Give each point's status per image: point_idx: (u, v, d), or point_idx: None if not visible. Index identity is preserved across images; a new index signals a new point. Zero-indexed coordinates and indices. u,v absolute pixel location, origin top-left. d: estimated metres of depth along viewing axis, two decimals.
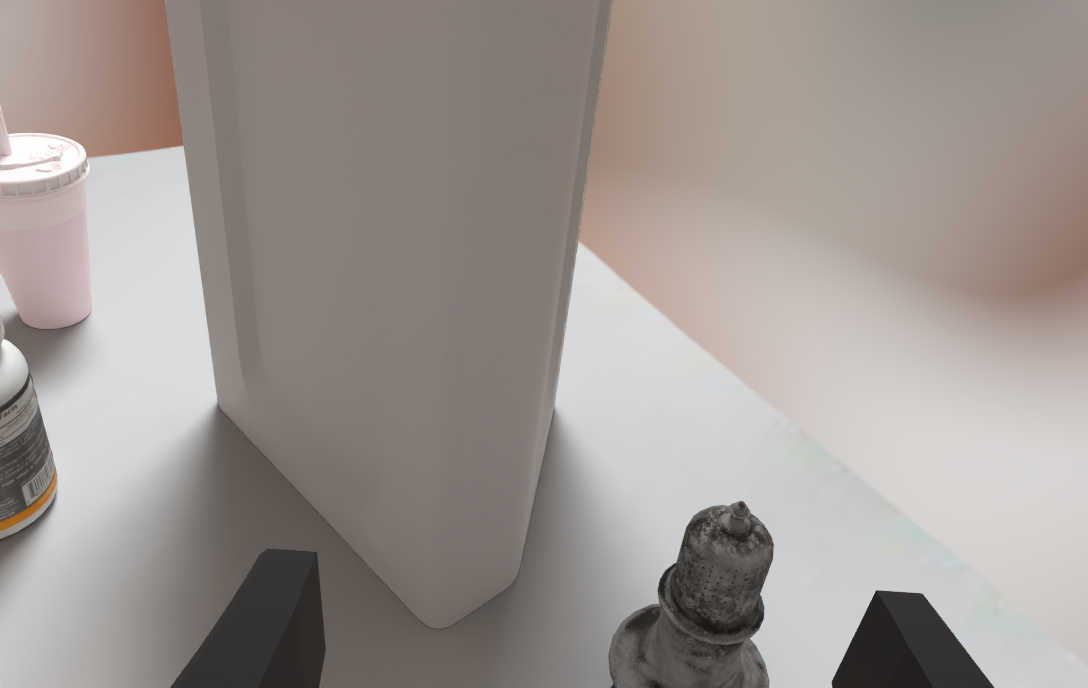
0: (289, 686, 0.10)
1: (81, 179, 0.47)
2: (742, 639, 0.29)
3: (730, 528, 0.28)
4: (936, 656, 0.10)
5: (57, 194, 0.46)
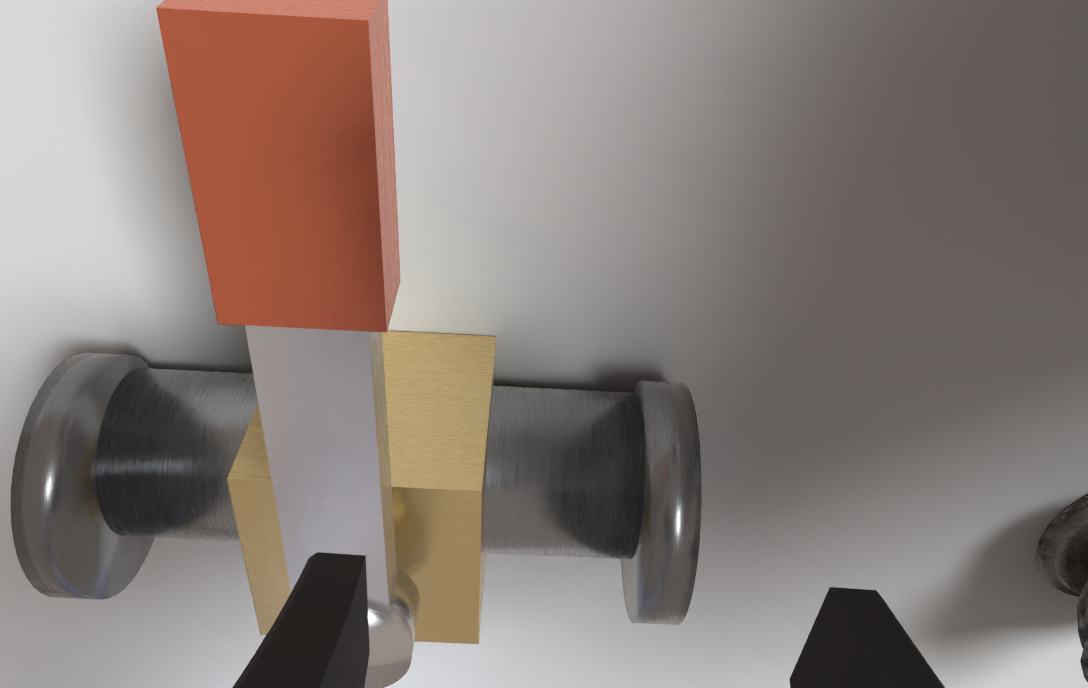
0: None
1: None
2: None
3: None
4: (885, 653, 0.10)
5: None
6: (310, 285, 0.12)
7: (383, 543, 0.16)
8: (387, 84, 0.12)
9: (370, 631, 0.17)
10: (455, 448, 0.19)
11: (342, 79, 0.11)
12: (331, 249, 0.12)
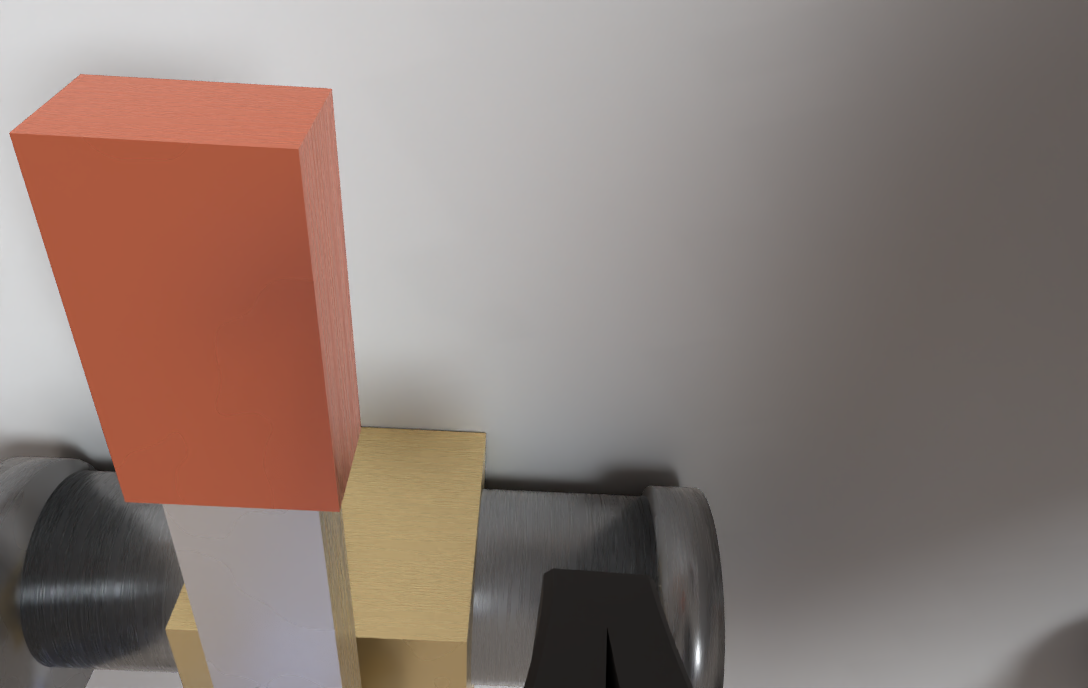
0: None
1: None
2: None
3: None
4: (632, 636, 0.10)
5: None
6: (239, 460, 0.10)
7: None
8: (335, 210, 0.09)
9: None
10: (436, 583, 0.16)
11: (267, 221, 0.08)
12: (264, 420, 0.09)
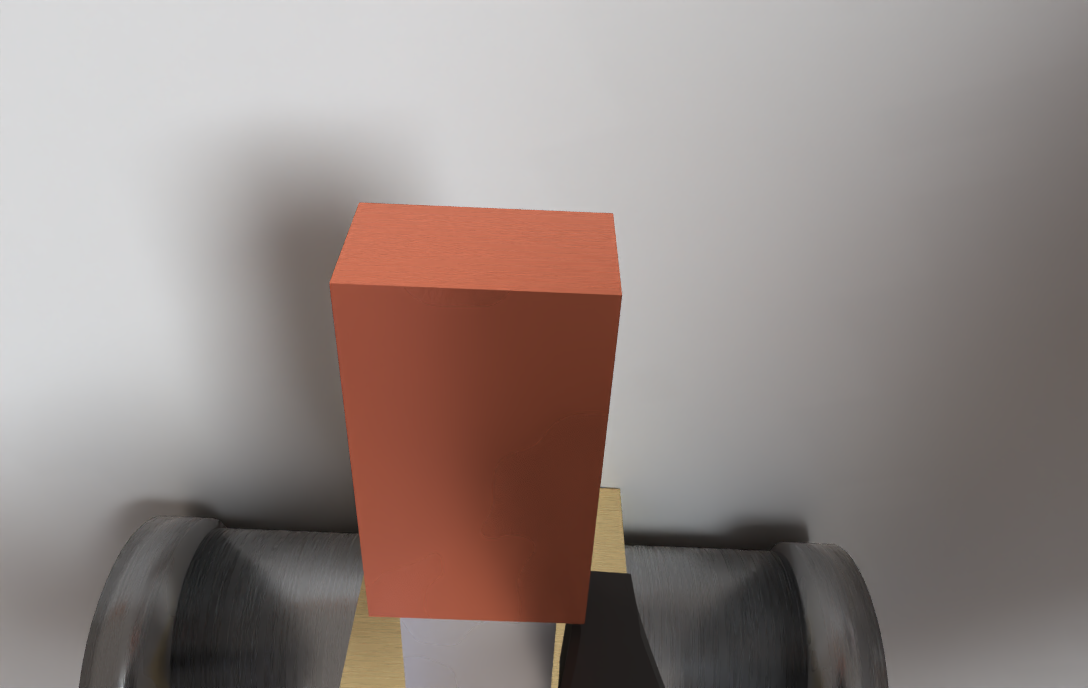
0: None
1: None
2: None
3: None
4: (604, 634, 0.10)
5: None
6: (494, 577, 0.10)
7: None
8: None
9: None
10: None
11: (574, 361, 0.08)
12: (527, 541, 0.09)
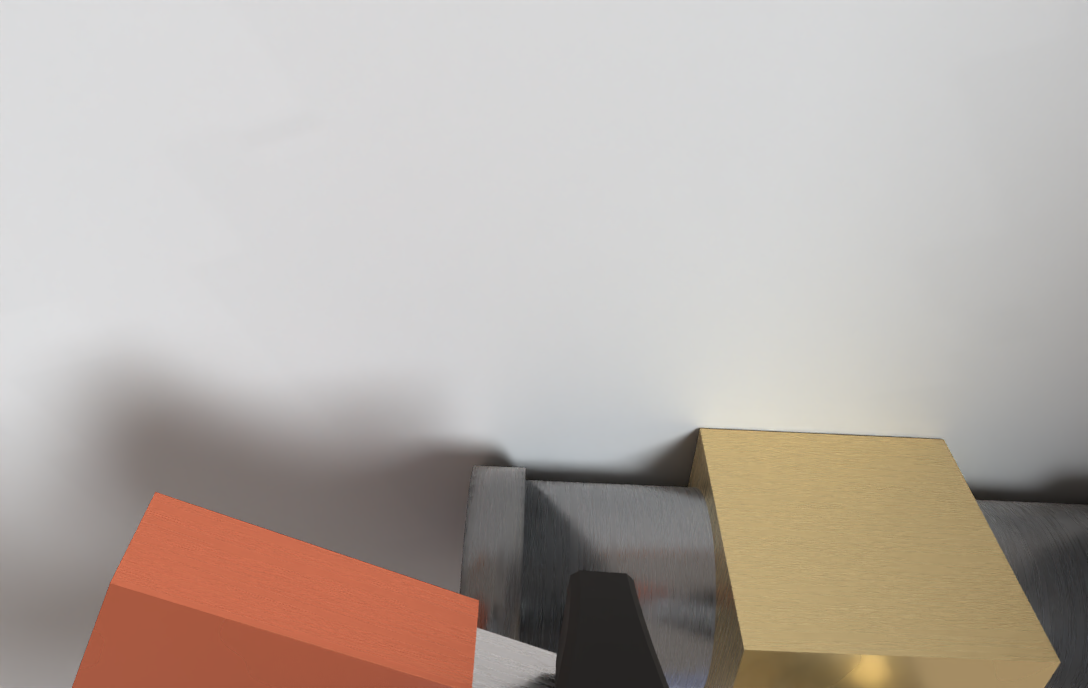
0: None
1: None
2: None
3: None
4: (609, 635, 0.10)
5: None
6: None
7: None
8: (239, 541, 0.11)
9: None
10: (991, 599, 0.15)
11: (166, 619, 0.10)
12: None
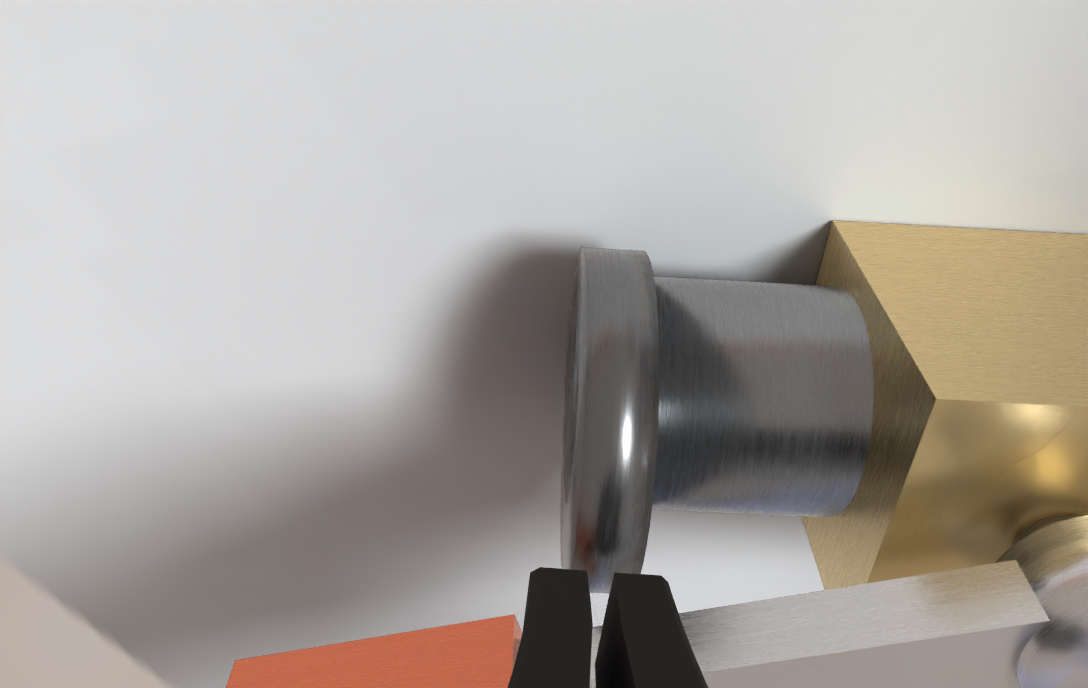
0: None
1: None
2: None
3: None
4: (647, 637, 0.10)
5: None
6: None
7: (876, 647, 0.11)
8: (300, 666, 0.13)
9: (1069, 650, 0.11)
10: None
11: None
12: None
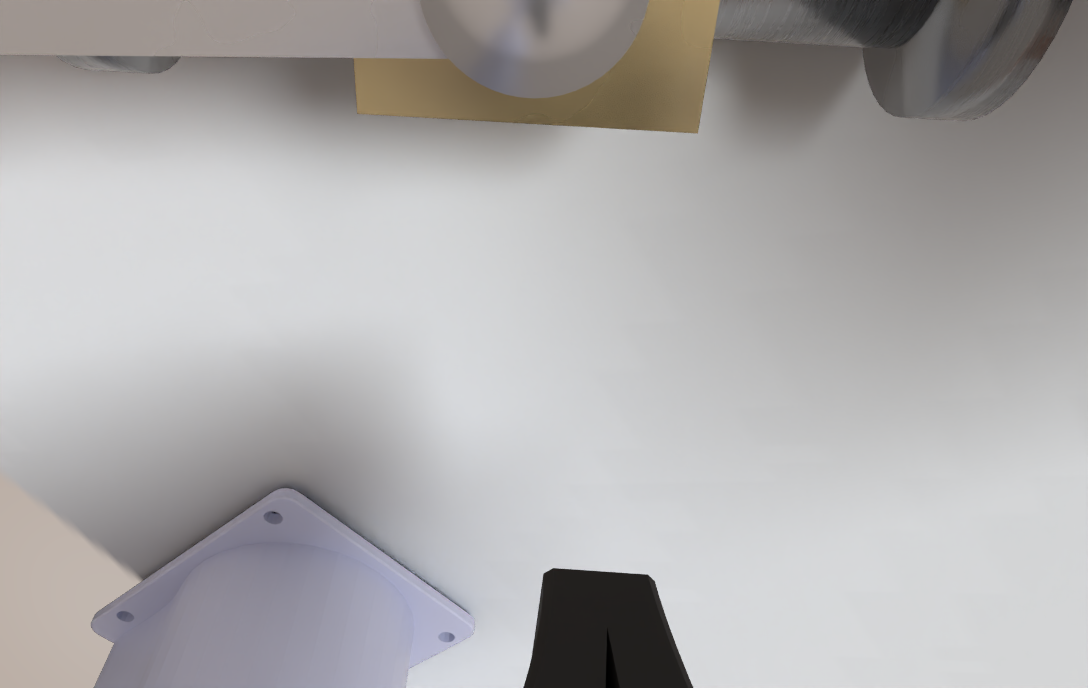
0: None
1: None
2: None
3: None
4: (632, 636, 0.10)
5: None
6: None
7: None
8: None
9: None
10: None
11: None
12: None
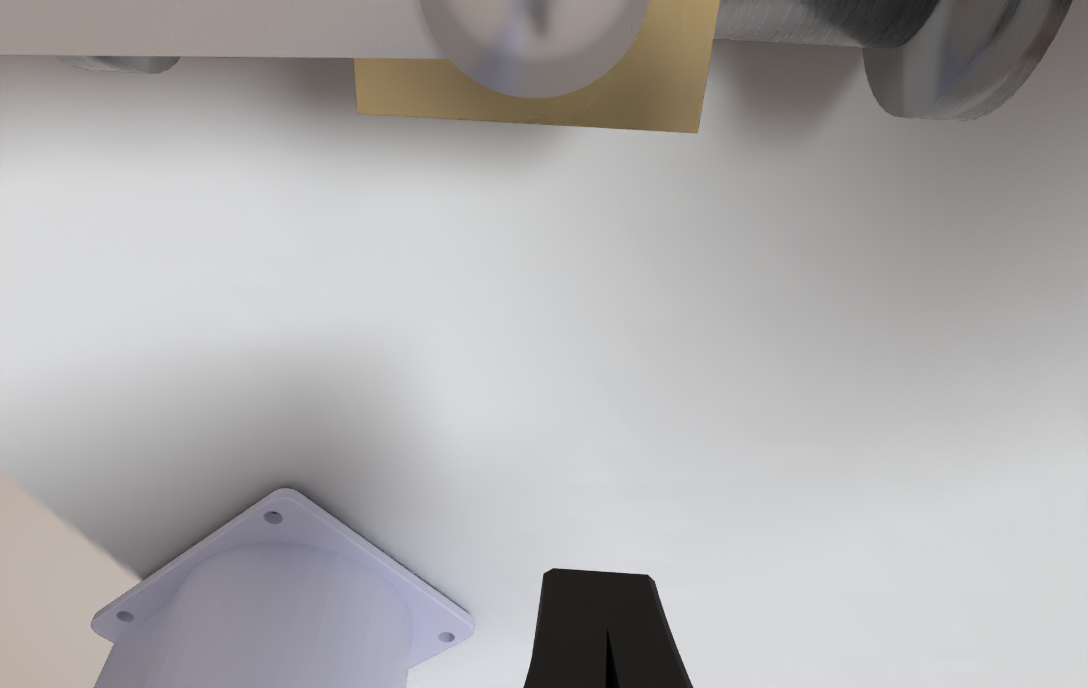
0: None
1: None
2: None
3: None
4: (632, 636, 0.10)
5: None
6: None
7: None
8: None
9: None
10: None
11: None
12: None
